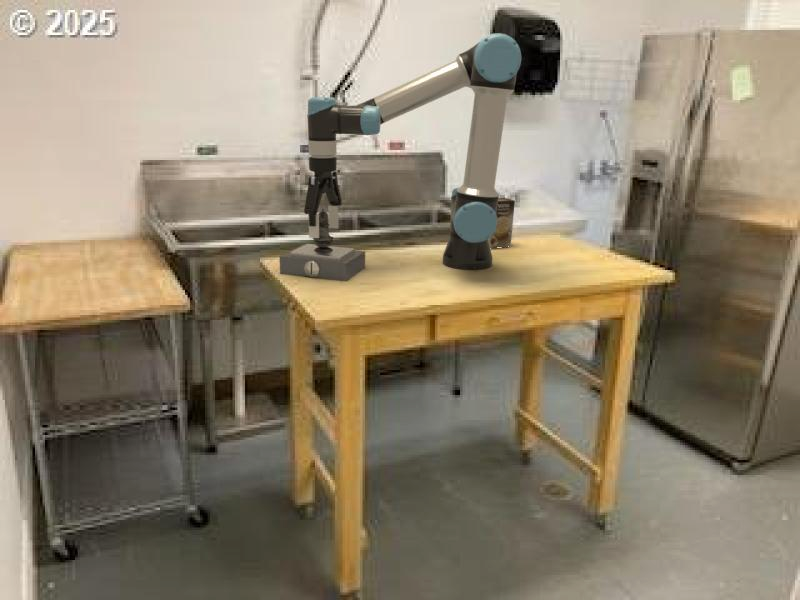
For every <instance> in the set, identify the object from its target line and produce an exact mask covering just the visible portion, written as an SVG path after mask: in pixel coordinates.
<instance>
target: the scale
mask: <svg viewBox="0 0 800 600" xmlns="http://www.w3.org/2000/svg"><path fill="white" fill-rule="evenodd" d="M317 247H318V246H316V245H315V243H312V244H311V243H306V244H302V245H299V246H297V247H296V248H294V249H293V248H292V250H289V251H287V252H285V253H283V254H281V255H279V274H282V275H290V276H291V275H292V276H297V277H298V276H300V277H306V276H308V278H314V277H317V278H316V279H323V278H324V279H325V280H331V281H332V280H333V281H341V282H347V281H349V280H350V279H352V278H353V277H354V276H356V275H358V274H359V273H360V272H361V271H363V270H364V269H366V250H358V249H357V250H356V249H355V248H351V247H345V246H344V247H343V246H342V247H341V246H332V245H330V246H329V247H330V248H331V249H333V251H331V252H316V251H314V249H316V248H317ZM324 279H323V280H324Z"/></svg>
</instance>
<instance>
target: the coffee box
mask: <svg viewBox="0 0 800 600" xmlns="http://www.w3.org/2000/svg"><path fill="white" fill-rule="evenodd" d="M515 203H516V200H513V199H511V198H505V197H501V198H500V197H499V198H498V205H497V212H496V215H497V227H496V230H495V232H494V233H493V235H492V236H491V237H490V238H488V241H489V245H490V248H497V247H508V246H509V247H510V246H511V247H512V237H513V236H512V235H513V227H514V226H513V225H514V215H515V214H514V213H515ZM511 247H510V248H511Z"/></svg>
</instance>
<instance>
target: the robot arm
mask: <svg viewBox="0 0 800 600" xmlns="http://www.w3.org/2000/svg"><path fill="white" fill-rule="evenodd" d="M521 63H522V53H521V48H520V46H519V44H518V43H517V41H516V40H515V39H514V38H513V37H511V36H509V35H508V34H507V33H501V32H498V33H495V32H494V33H490V34H488V35H486V36H485V37H483V38H481V40H480V41H478V43H476V44H475V45H473V46H472V47H470V48H469V49H467V50H465V51H464V52H462V53H459V54H458V55H457V57H456V59H455V60H452V61H451V62H448V63H447V64H444V65H441V66H440V67H438V68H436V69H434V70H431V71H430V72H427V73H425V74H423V75H421V76H418V77H416V78H414V79H412V80H409V81H407V82H404V83H403V84H401V85H399V86H396V87H395V88H394V87H393V88H391V89H390V90H388V91H385V92H384V93H381V94H379V95H376V96H375V97H373V98H370V99H368V100H365V101H363V102H361V103H359V104H356V105H341V104H337V101H336V99H335V98H334V97H325V96H324V97H322V96H319V97H318V96H317V97H310V98H309V99H308V101H307V134H308V135H307V138H308V143H307V147H308V155H309V158H308V170H309V171H311V172H312V173H313V172H314V173H313V174H314V175H313V176H309V177H308V186H307V190H306V196H305V197H306V199H305V202H304V209H303V212H304V214H305V215H307V216H308V237H309V238H311V239H313V238H319V213H318V212H319V207H320V204H321V202H322V201H321V200H322V197H323V195H324V194H325V196H326V199H327V200H328V203H329V205H328V224H329V226H328V229H339V206H342V197H341V192H340V188H339V183H338V182H339V181H338V178H337V177H338V176H337V175H338V173H337V171H336V170H337V167H338V165H337V162H338V161H337V157H336V155H337V151H338V150H337V135H356V136H357V135H361V136H363V135H364V136H371V135H373V136H375V135H379V133H380V132H381V125H383V124H385V123H387V122H389V121H391V120H393V119H395V118H398V117H400V116H403V115H405V114H407V113H409V112H412V111H414V110H416V109H418V108H420V107H423V106H425V105H427V104H429V103H432V102H434V101H436V100H439V99H441V98H442V97H446V96H447V95H449V94H452V93H454V92H457V91H458V90H461V89H462V88H466V87H467V88H469V89H471V90H472V91H473V93H474V99H473V106H472V113H471V114H472V115H471V121H470V127H469V128H470V130H469V138H468V146H467V152H466V161H465V166H464V167H465V169H464V177H463V184H462V185H461V186H459V187H455V188H454V189H452V191H451V195H450V200H451V204H450V209H451V210H450V222H449V223H450V225H449V238H448V241H447V243H446V246H445V249H444V252H443V254H442V263H443V265H445V266H447V267H450V268H453V269H459V270H475V271H476V270H482V269H483V270H485V269H488V268H491V267H492V265H493V261H494V260H493V259H494V258H493V253H492V249H490V245H489V241H488V238H490V237H491V236H492V235H493V233H494V232H495V230H496V227H497V215H496V212H497V205H498V198H500V194H499V193H498V191H497V190H496V188H495V186H496V178H497V172H498V171H497V170H498V164H499V158H500V151H501V145H502V136H503V130H504V123H505V115H506V111H507V110H506V109H507V101H508V98H509V96H510V95H512V94H513V93H514V92H515V87H516V80H517V74H518V71H519V70H520V68H521V65H522V64H521Z"/></svg>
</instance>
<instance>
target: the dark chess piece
mask: <svg viewBox="0 0 800 600" xmlns="http://www.w3.org/2000/svg"><path fill="white" fill-rule="evenodd" d="M318 214H319V238H312V239H313V242H314V243H313V244H315V245H316V246H318V247H317V248H316V249H314V251H316V252H331V251H333V249H331V248H330V247H329V246H332V244H333V242H334V237H333V236H331V235H330V232H329V213H328V212H326V211H325V209H324V208H322V209H321V211H320V212H319V213H318Z"/></svg>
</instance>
